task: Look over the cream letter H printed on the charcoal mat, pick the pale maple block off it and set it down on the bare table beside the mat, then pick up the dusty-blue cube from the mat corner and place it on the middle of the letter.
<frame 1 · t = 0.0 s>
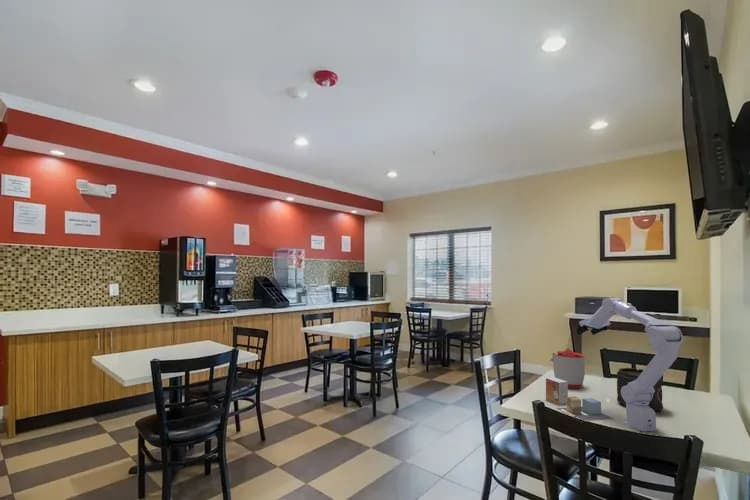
hand: (585, 333, 180), 32 cm above the table, tool tilted 50°, fingers open, 7 cm apart
wooden barrel: (639, 407, 173), on the table
blue cube: (591, 411, 164), resting on letter mat
maple block: (573, 412, 164), point 1 cm above the table, touching letter mat
small box: (556, 402, 178), on the table
citrus juicer: (567, 385, 206), on the table
letter mat: (584, 414, 163), on the table
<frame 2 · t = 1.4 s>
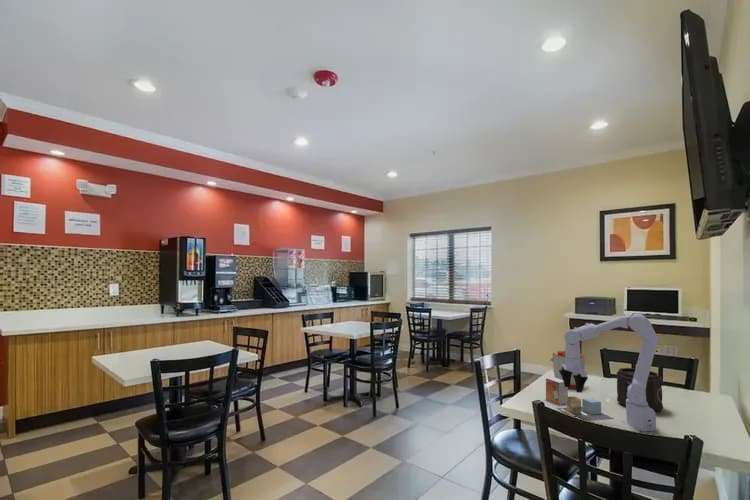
hand: (573, 389, 165), 10 cm above the table, tool pointing down, fingers open, 7 cm apart
nothing on the table moved.
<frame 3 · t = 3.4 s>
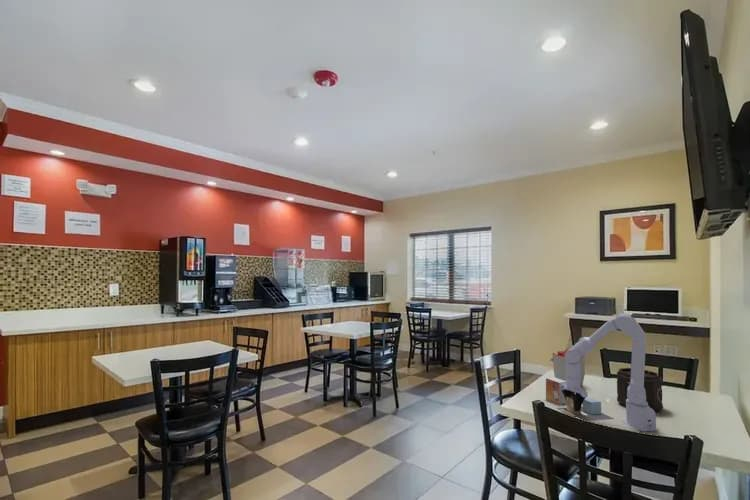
hand: (573, 409, 164), 2 cm above the table, tool pointing down, fingers closed on maple block, 4 cm apart
maple block: (573, 412, 164), point 1 cm above the table, touching gripper, letter mat
everything else where it was.
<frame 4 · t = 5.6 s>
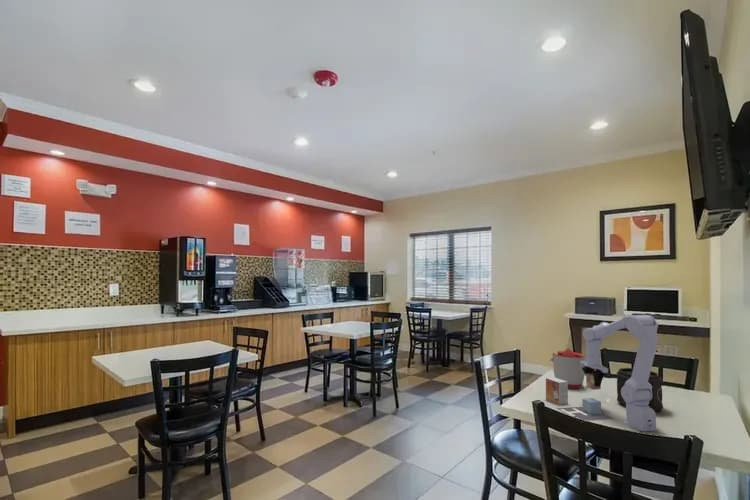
hand: (594, 385, 172), 10 cm above the table, tool pointing down, fingers closed on maple block, 4 cm apart
maple block: (593, 388, 172), point 9 cm above the table, touching gripper
everything else where it was.
when the fingers open (2 cm above the table, at t = 7.7 s): maple block drops 1 cm, on the table.
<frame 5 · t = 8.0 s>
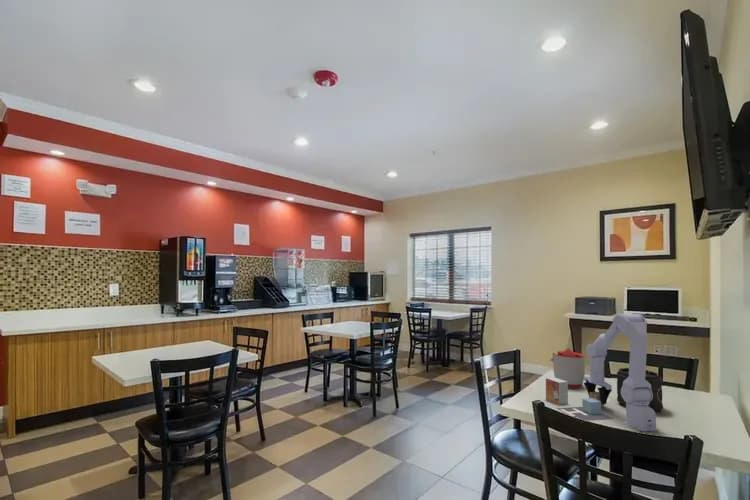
hand: (597, 401, 173), 2 cm above the table, tool pointing down, fingers open, 6 cm apart
maple block: (597, 406, 173), on the table
everything else where it was.
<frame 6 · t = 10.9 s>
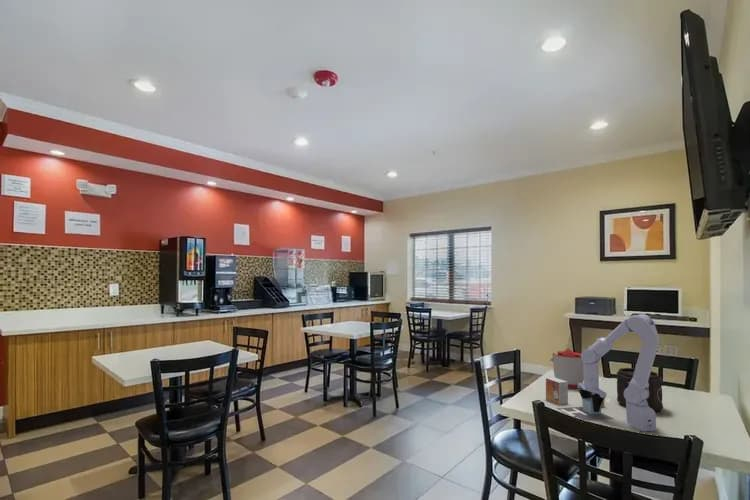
hand: (591, 409, 165), 2 cm above the table, tool pointing down, fingers closed on blue cube, 5 cm apart
blue cube: (591, 411, 164), resting on letter mat, touching gripper
everything else where it was.
when the fingers open (3 cm above the table, at t = 14.5 s): blue cube stays where it is, resting on letter mat.
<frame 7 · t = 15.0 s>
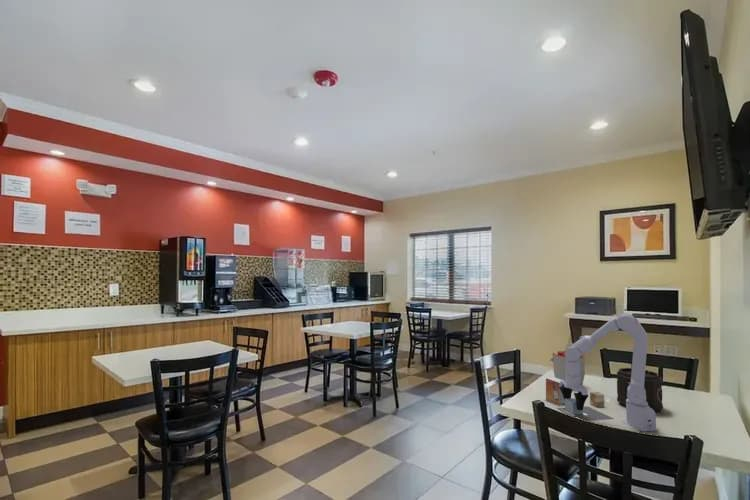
hand: (573, 406, 164), 3 cm above the table, tool pointing down, fingers open, 7 cm apart
blue cube: (574, 412, 164), point 1 cm above the table, touching letter mat
everything else where it was.
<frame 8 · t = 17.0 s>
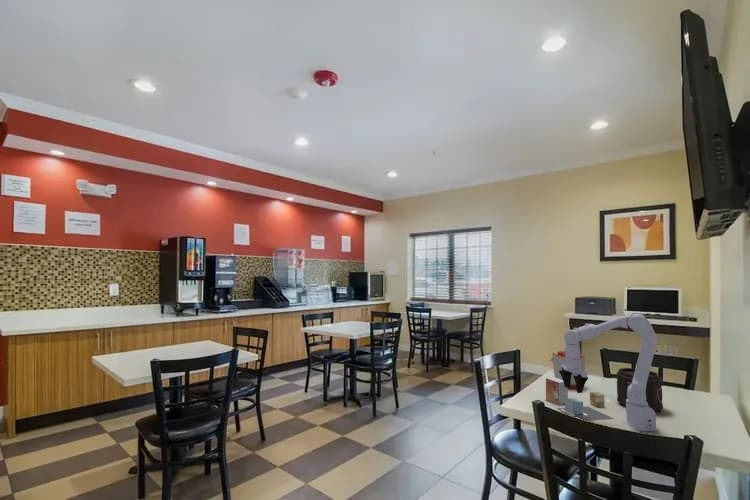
hand: (573, 389, 165), 10 cm above the table, tool pointing down, fingers open, 7 cm apart
nothing on the table moved.
at the end: blue cube 0.1 cm from the target spot on the letter mat, point 0.5 cm above the letter mat's base; blue cube tilted 0°; maple block 0.3 cm from the target spot, on the table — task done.
